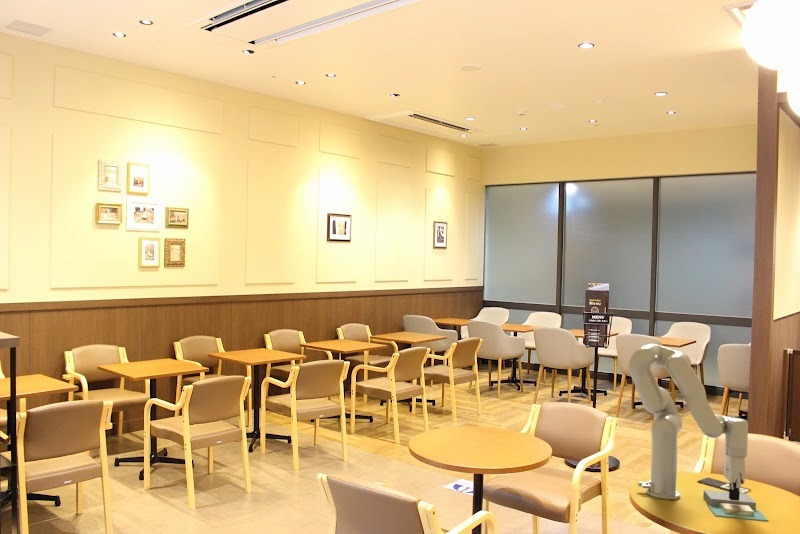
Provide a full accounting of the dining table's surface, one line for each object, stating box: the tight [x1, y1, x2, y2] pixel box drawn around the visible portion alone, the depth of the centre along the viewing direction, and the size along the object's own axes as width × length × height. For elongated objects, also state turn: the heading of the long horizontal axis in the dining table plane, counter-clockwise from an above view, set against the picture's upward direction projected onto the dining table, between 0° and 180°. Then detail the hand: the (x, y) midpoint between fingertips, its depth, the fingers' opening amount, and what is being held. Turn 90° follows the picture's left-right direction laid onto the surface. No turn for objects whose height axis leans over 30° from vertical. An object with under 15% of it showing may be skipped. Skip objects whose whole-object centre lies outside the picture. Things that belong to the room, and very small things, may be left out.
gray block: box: [703, 489, 757, 510], centre depth 256 cm, size 16×10×3 cm, turn 80°
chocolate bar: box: [696, 477, 752, 494], centre depth 277 cm, size 9×1×18 cm
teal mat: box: [707, 504, 770, 522], centre depth 246 cm, size 18×10×1 cm, turn 80°
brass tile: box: [719, 502, 754, 516], centre depth 248 cm, size 10×7×2 cm
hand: (734, 499), depth 251 cm, fingers closed
